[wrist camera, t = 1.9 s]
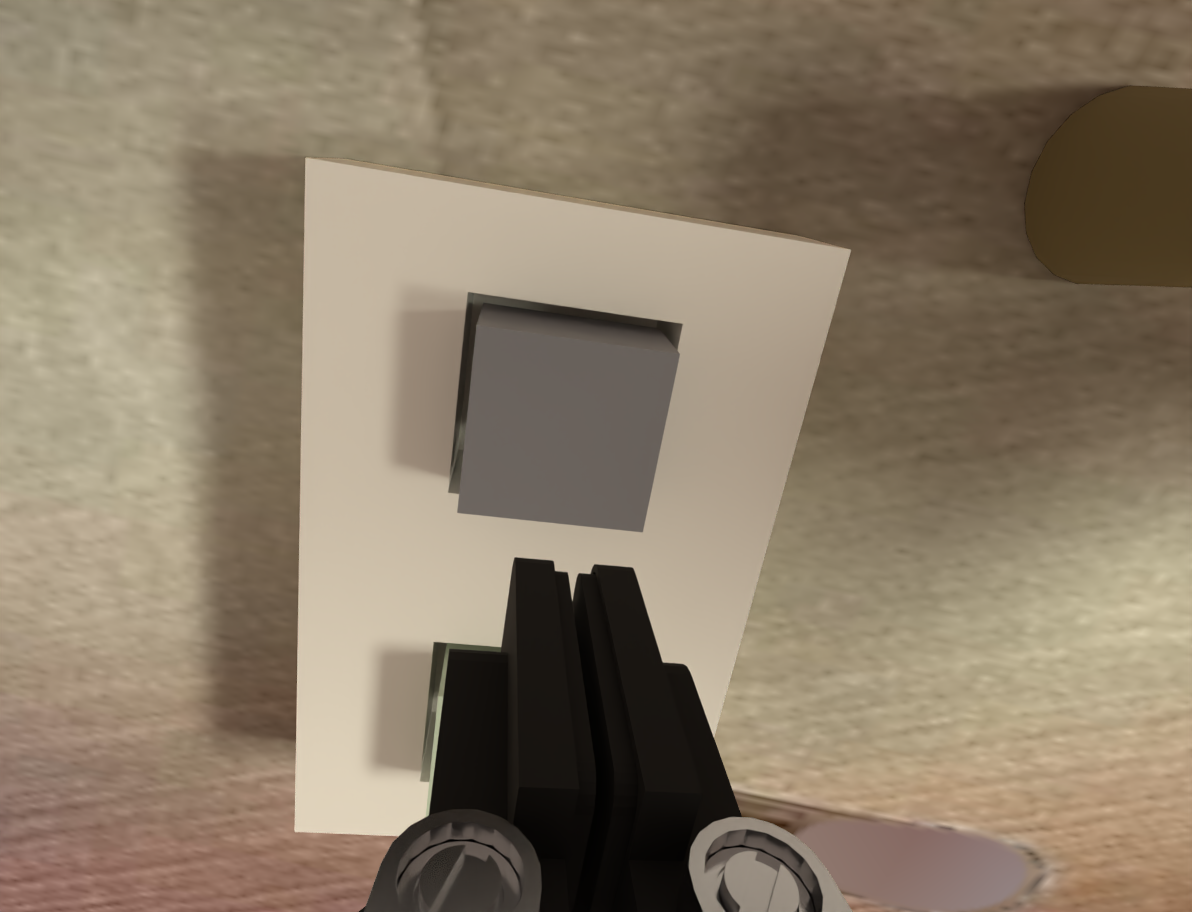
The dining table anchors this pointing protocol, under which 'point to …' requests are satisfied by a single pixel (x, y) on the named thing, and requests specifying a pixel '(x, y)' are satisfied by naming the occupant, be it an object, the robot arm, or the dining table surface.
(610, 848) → the robot arm
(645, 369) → the charcoal key
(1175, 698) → the dining table surface
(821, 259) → the key panel
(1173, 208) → the brown pawn
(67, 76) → the dining table surface
